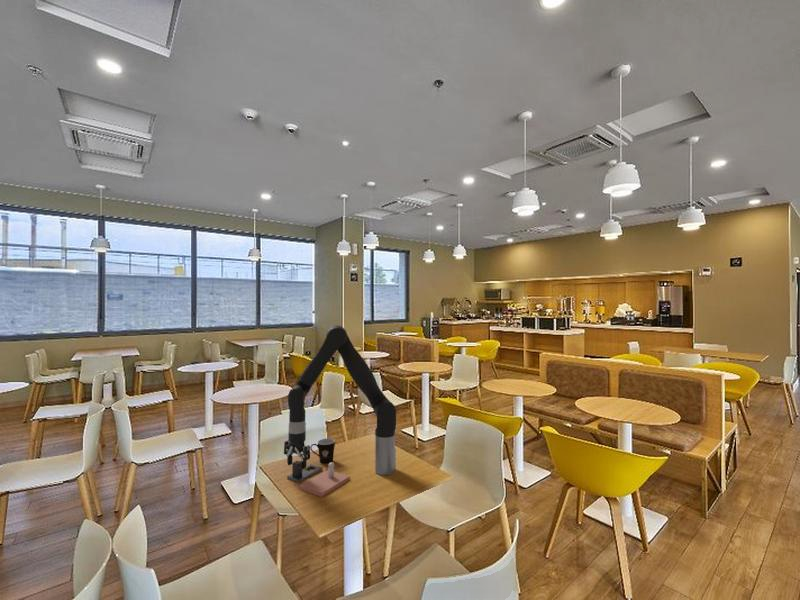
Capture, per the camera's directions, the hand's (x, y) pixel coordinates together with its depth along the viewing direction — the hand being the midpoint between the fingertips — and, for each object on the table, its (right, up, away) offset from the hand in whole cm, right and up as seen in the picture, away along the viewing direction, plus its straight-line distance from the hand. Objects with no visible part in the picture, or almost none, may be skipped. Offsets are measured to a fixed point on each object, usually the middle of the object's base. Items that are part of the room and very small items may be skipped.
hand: (296, 466), depth 167 cm
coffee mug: (+8, -6, +19) cm, 22 cm away
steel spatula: (+3, -6, +4) cm, 7 cm away
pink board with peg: (+14, -5, -5) cm, 16 cm away
